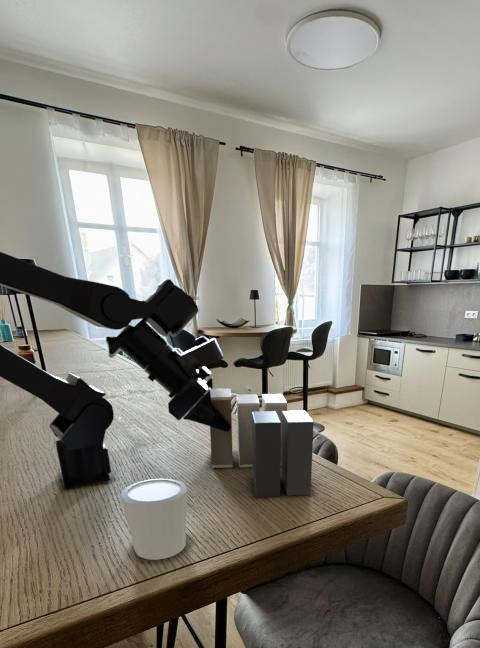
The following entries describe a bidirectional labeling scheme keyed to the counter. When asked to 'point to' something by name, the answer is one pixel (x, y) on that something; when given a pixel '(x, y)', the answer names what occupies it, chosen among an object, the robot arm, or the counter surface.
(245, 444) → the grey tall rectangular block
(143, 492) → the white cup
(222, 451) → the tall cream square pillar
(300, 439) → the grey book
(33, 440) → the counter surface
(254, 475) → the tall grey rectangular block
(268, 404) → the white book
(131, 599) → the counter surface
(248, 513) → the counter surface
